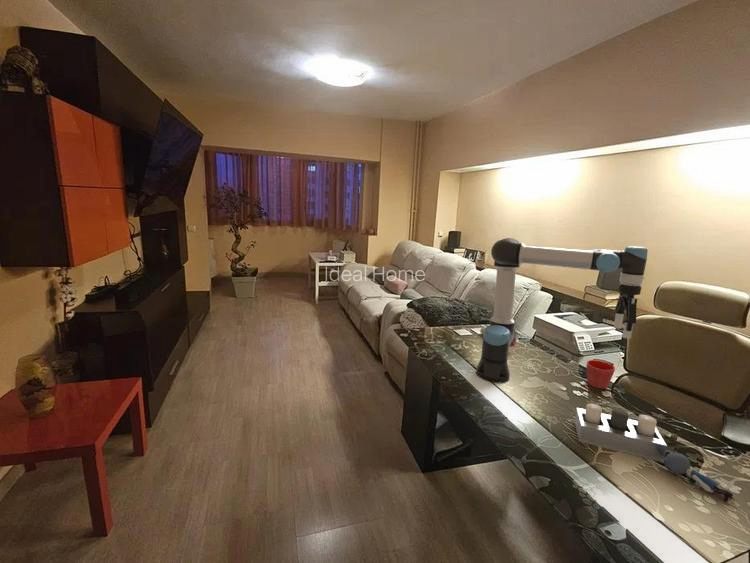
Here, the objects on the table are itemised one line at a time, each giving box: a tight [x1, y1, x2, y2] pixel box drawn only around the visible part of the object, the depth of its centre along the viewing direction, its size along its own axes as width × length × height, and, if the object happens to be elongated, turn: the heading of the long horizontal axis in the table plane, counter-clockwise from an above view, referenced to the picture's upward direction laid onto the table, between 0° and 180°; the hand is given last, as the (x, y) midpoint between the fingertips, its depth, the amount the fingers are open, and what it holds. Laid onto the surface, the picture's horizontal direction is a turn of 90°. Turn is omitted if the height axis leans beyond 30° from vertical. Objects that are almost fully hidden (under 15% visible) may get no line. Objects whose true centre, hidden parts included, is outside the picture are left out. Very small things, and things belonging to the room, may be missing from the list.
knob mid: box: [609, 408, 630, 431], centre depth 114 cm, size 5×5×6 cm
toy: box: [661, 452, 734, 503], centre depth 97 cm, size 7×6×15 cm
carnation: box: [479, 326, 517, 348], centre depth 200 cm, size 12×12×35 cm
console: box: [574, 407, 668, 464], centre depth 114 cm, size 23×12×6 cm, turn 66°
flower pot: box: [586, 359, 616, 389], centre depth 154 cm, size 11×11×10 cm
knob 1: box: [584, 403, 603, 425], centre depth 117 cm, size 5×5×6 cm
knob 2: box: [636, 414, 658, 438], centre depth 111 cm, size 5×5×6 cm
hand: (621, 332), depth 143 cm, fingers open, 13 cm apart
